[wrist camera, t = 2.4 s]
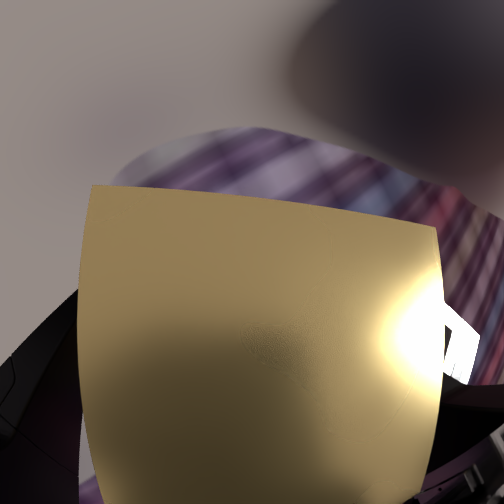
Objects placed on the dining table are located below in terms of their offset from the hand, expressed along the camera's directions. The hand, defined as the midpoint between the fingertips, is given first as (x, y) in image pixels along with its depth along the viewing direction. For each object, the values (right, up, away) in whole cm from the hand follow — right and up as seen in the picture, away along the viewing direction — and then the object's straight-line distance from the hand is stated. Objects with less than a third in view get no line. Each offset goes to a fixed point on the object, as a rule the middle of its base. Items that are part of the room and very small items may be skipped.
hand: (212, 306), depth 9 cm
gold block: (-2, -3, +6) cm, 7 cm away
